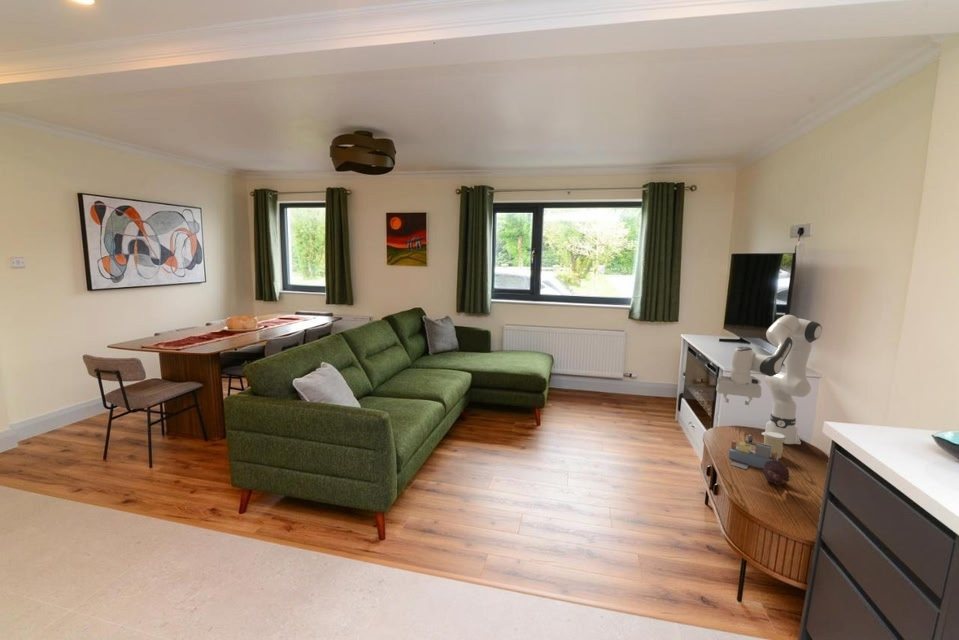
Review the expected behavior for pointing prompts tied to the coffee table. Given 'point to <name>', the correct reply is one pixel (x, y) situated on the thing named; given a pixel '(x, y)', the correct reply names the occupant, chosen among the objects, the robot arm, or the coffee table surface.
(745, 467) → the mat
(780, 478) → the pine cone
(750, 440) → the ball-knob lever
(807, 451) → the coffee table surface
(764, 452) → the plane body
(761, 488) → the coffee table surface
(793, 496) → the coffee table surface
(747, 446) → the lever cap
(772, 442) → the coffee cup
